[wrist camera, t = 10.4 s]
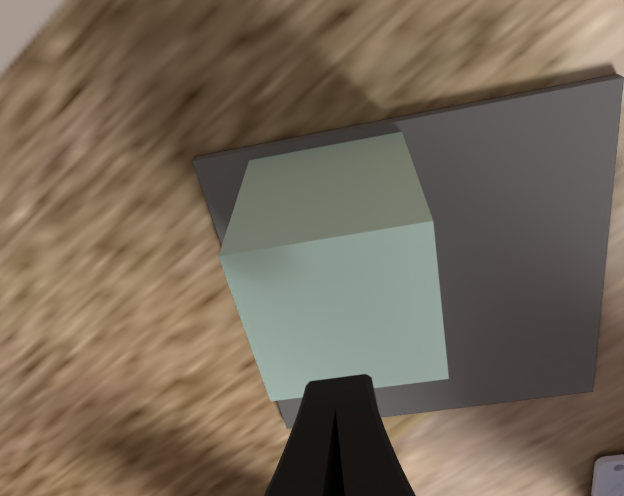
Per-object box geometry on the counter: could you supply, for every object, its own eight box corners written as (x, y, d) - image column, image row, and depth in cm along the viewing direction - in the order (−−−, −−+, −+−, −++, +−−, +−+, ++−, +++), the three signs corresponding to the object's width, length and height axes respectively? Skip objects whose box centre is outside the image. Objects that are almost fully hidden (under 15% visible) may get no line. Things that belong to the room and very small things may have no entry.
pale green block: (402, 131, 17) (432, 220, 12) (417, 261, 20) (448, 378, 15) (249, 160, 18) (218, 256, 13) (284, 282, 21) (270, 401, 16)
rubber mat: (617, 74, 17) (624, 77, 16) (589, 384, 24) (592, 391, 23) (194, 157, 18) (192, 161, 18) (287, 422, 26) (286, 428, 25)
